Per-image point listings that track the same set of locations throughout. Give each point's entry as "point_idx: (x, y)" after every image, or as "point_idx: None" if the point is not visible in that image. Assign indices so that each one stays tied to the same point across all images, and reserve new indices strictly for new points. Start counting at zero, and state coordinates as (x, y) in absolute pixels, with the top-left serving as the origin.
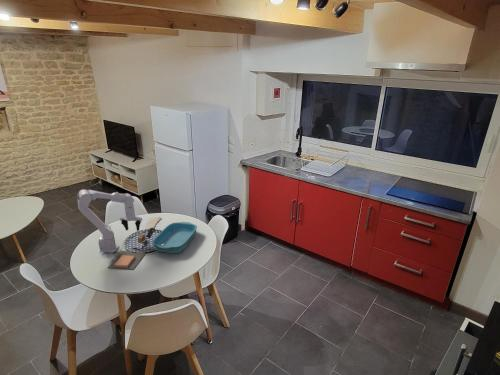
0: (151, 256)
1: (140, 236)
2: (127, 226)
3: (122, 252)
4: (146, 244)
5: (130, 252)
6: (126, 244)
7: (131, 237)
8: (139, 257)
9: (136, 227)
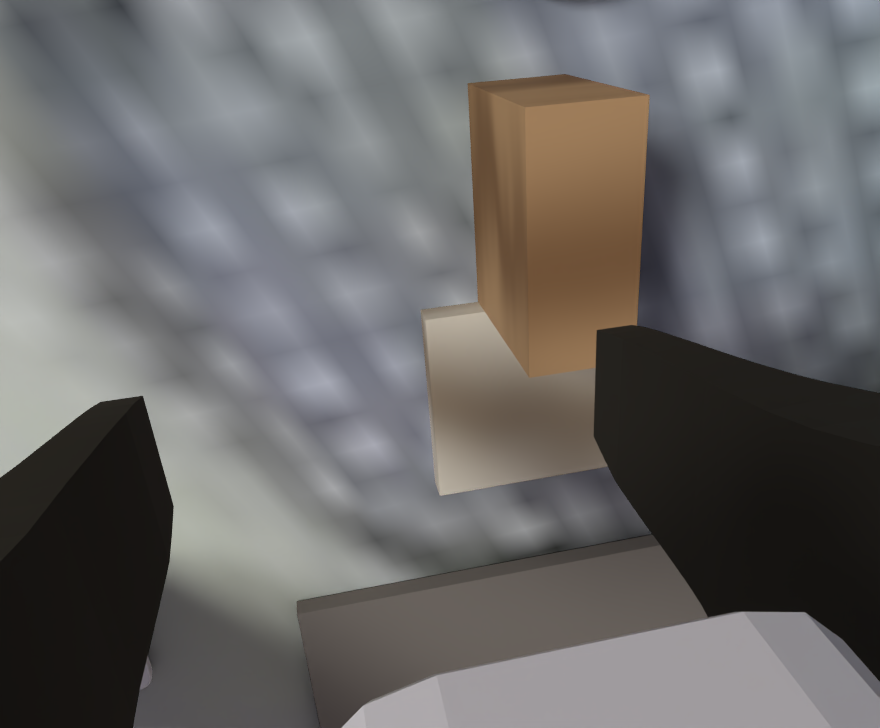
0: None
1: (581, 296)
2: (113, 516)
3: (342, 646)
4: (656, 271)
5: (487, 606)
6: (206, 376)
7: (87, 21)
8: None
9: (689, 579)
